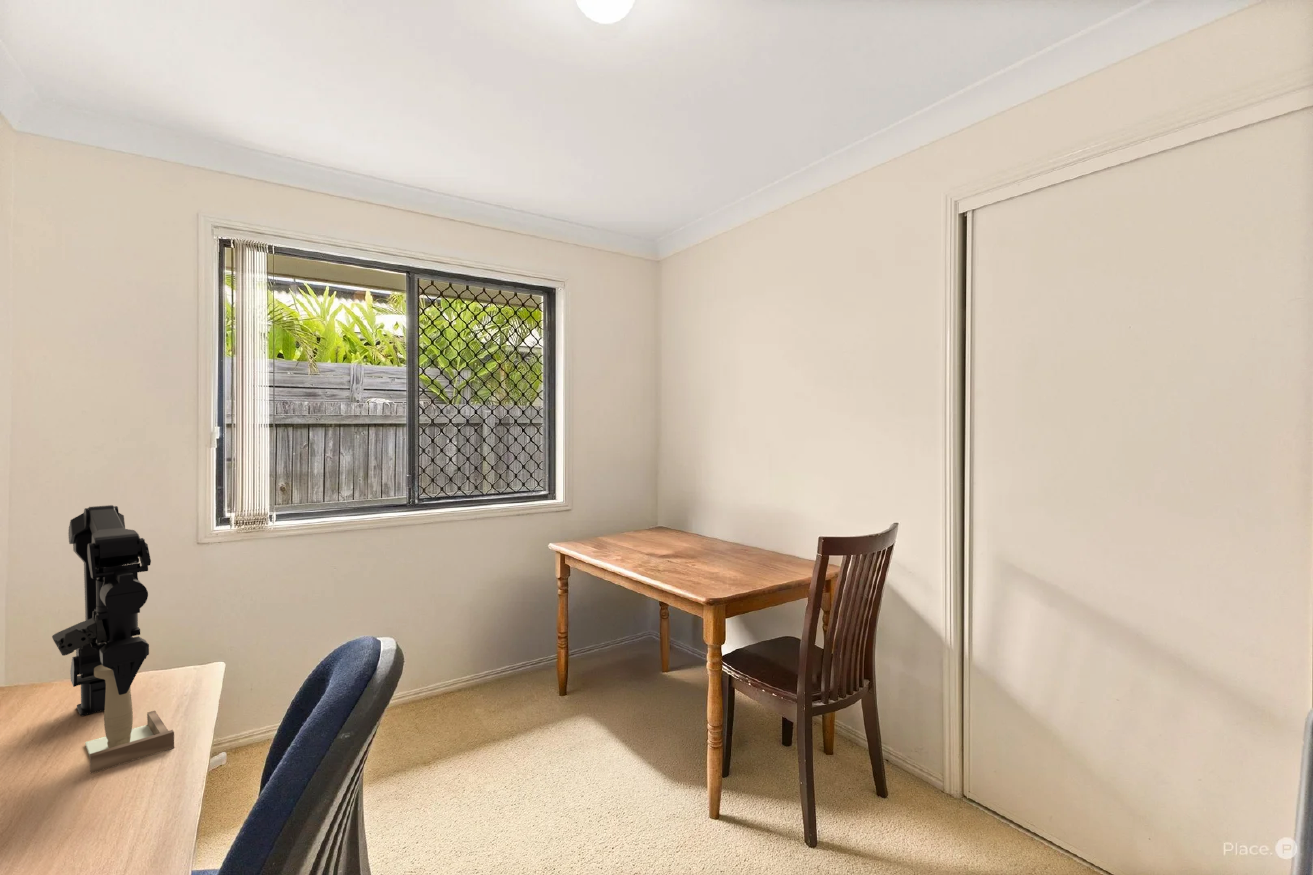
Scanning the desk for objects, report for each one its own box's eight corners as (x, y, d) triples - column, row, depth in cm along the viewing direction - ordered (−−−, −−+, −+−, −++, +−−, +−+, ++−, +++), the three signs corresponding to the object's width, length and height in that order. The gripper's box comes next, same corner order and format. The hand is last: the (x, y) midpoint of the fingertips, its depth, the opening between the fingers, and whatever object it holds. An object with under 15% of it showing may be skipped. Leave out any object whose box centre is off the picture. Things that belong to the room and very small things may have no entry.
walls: (81, 746, 114) (80, 730, 114) (159, 724, 122) (158, 709, 122) (90, 773, 105) (90, 756, 105) (174, 747, 114) (174, 731, 114)
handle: (97, 744, 113) (95, 664, 113) (142, 734, 117) (140, 656, 117) (94, 756, 110) (92, 673, 109) (141, 744, 113) (139, 664, 113)
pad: (85, 745, 114) (85, 741, 114) (147, 727, 121) (147, 724, 121) (94, 769, 106) (94, 766, 106) (160, 749, 113) (160, 745, 113)
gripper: (50, 601, 113) (52, 685, 113) (61, 624, 100) (63, 718, 101) (129, 589, 121) (130, 667, 122) (149, 609, 109) (150, 696, 109)
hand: (118, 686), depth 113 cm, fingers open, 9 cm apart
